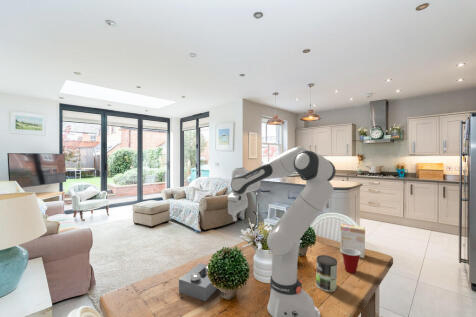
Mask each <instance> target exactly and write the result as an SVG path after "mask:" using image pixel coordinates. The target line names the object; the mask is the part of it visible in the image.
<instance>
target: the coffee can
mask: <svg viewBox="0 0 476 317" xmlns="http://www.w3.org/2000/svg"><path fill="white" fill-rule="evenodd" d="M337 272H338V260H337V259H336V258H335V257H334V256H332V255H331V256H330V255H326V254H325V255H324V254H319V255H317V256H316V273H315V274H316V275H315V276H316V277H315V278H316V279H315V286H316V287H317V288H319V290H321V291H324V292H328V293H330V292H335V291H336V290H337V283H338V282H337V281H338V280H337V278H338V277H337V275H338V273H337Z"/></svg>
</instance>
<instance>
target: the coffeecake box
mask: <svg viewBox="0 0 476 317" xmlns="http://www.w3.org/2000/svg"><path fill="white" fill-rule="evenodd" d="M339 234H340V235H339V236H340V239H339V240H340V243H339V244H340V245H339V253H340V254H342V252H341V249H345V248H348V249H354V250H357V251H359V252H361V254H360V257H359V259H360V258H361V259H365V254H366V252H365V250H366V226H362V225H361V226H360V225H354V224H346V223H341V225H340V233H339Z"/></svg>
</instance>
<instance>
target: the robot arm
mask: <svg viewBox="0 0 476 317" xmlns="http://www.w3.org/2000/svg"><path fill="white" fill-rule="evenodd" d="M295 173H297V174H298V175H299V177H300V178H301V180H302V181H305V186H304V188H303V189H302V190H301V191H300V193H299V194H298V195H297V196H296V198H295V199H294V200H293V202H292V203H291V204H290V206H289V208H288V209H287V210H286V211H285V212H284V213H283V215H282V216H281V217H280V218H279V220H277V222H276V224H274V226H273V227H272V228H271V230H270V231H269V234H268V236H267V239H266V244H267V247H268V249H269V251H270V252H271V253H273V254H272V257H271V276H270V279H269V280H270V281H269V282H270V283H269V284H270V285H269V286H270V294H269V299H268V304H267V308H266V309H267V311H268V313H269V314H270V316H271V317H321V312H320V310H319V308H318V307H317V306H315V303H314V299H313V297H312V296H311V295H309V294H308V292H306V291H305V290H304V289H303V288H302V286H303V285H302V283H303V281H302V280H299V279H298V258H299V251H300V244H301V243H300V242H301V241H300V240H301V239H302V237H303V236H304V235H305V233H307V230H308V229H309V228H310V226H311V225H312V224H313V222H314V221H315V220H316V219H317V217H318V216H320V214H321V213H322V211H324V209H325V208H326V207H327V204H328V203H329V201H330V200H331V198H332V196H333V194H334V191H335V190H334V187H333V184H332V183H331V181H332V180H333V179H334V178H335V176H336V167H335V164H333V162H332V161H330V160H329V159H327V158H325V157H324V156H323V155H321V154H319V153H316V152H314V151H312V150H308V149H306V148H305V147H304V146H300V145H299V146H295V147H292V148H290V149H287V150H286V151H283V152H282V153H280V154H279V155H277V156H275V157H274V158H272V159H270V160H269V161H267V162H266V163H264V164H262V165H261V166H259V167H257V168H255V169H253V170H251V171H250V170H249V171H248V169H247V168H246V167H236V168H234V169H233V170H232V173H231V182H230V187H231V190H230V191H231V192H230V194H229V195H228V196H227V201H228V202H227V213H228V215H231V216H232V221H233V222H237V221H238V217H237V214H238V213H240V214H239V217H240V218H243V217H244V216H245V215H244V214H245V210H246V209H248V207H249V199H248V196H247V193H250V192H252V193H253V192H256V191H258V190H259V189H260V188H261V185H262V181H263V180H264V181H265V180H269V179H277V178H278V179H279V178H285V177H288V176H291V175H292V174H295Z"/></svg>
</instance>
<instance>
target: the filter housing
mask: <svg viewBox="0 0 476 317" xmlns="http://www.w3.org/2000/svg"><path fill="white" fill-rule="evenodd" d="M207 266H208V265H207V264H204V263H201V262H199V263H198V264H197V265H196V266H194V267H193V268H191V269H190V270H189V271H188V272H187V273H185V274H183V276H181V277H180V278H178V292H179V293H181V294H183V295H186V296H188V297H191V298H195V299H197V300H200V301H202V300H203V302H206V301H207V300H208V299H209V298H210V297H211V296H212V295H213V294H214V293H215V292H216V291H217V289H216V287H214V286H213V285H212V283H211V281H210V280H209V278H208V275H207V276H205V268H206V267H207ZM193 273H199V274H200V281H198V282H197V283H194V282H191V274H193Z"/></svg>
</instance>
